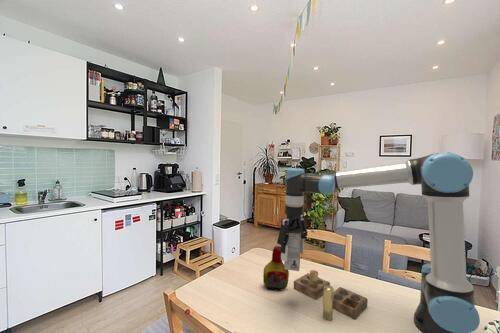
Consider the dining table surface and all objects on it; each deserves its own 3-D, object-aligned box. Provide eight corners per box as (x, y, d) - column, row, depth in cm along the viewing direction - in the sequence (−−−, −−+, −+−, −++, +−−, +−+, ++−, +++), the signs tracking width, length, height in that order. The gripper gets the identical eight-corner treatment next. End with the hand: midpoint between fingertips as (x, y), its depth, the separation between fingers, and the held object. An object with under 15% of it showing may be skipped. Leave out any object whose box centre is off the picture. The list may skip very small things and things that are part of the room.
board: (329, 289, 113) (330, 268, 112) (316, 299, 104) (316, 277, 104) (307, 279, 121) (308, 260, 121) (293, 288, 113) (294, 267, 113)
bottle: (288, 286, 115) (289, 245, 114) (287, 293, 109) (288, 250, 108) (264, 282, 118) (265, 242, 117) (262, 289, 112) (262, 247, 111)
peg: (334, 317, 93) (335, 287, 92) (329, 322, 90) (330, 291, 90) (325, 313, 95) (326, 284, 95) (321, 317, 93) (321, 287, 92)
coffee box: (285, 260, 106) (286, 224, 106) (299, 261, 105) (301, 226, 104) (283, 269, 97) (285, 231, 97) (299, 271, 96) (301, 232, 95)
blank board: (367, 306, 100) (367, 297, 100) (355, 319, 92) (355, 310, 92) (339, 294, 109) (340, 286, 109) (326, 305, 101) (326, 296, 101)
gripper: (302, 200, 111) (301, 247, 112) (268, 207, 95) (267, 261, 96) (316, 203, 105) (315, 252, 106) (283, 210, 89) (282, 268, 90)
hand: (292, 256), depth 101 cm, fingers closed on coffee box, 11 cm apart
